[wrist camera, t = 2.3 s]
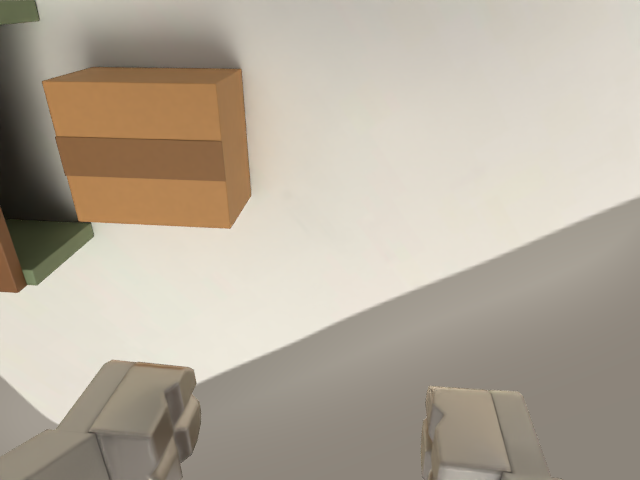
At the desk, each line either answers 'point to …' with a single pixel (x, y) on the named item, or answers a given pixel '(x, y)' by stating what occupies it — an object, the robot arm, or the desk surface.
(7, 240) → the cabinet
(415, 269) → the desk surface
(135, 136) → the cardboard box
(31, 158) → the desk surface
